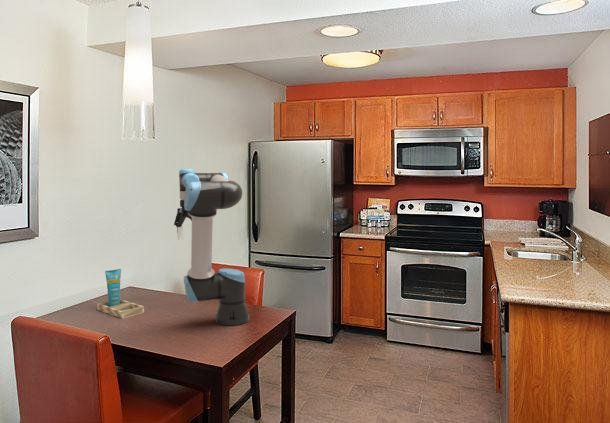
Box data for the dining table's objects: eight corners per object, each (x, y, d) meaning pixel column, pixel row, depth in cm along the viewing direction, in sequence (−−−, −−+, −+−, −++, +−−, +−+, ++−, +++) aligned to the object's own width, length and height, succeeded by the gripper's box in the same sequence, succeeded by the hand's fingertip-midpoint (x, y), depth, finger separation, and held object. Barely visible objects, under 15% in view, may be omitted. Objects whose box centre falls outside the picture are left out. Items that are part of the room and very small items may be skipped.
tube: (108, 310, 225) (107, 271, 223) (104, 308, 229) (103, 270, 227) (124, 307, 230) (122, 269, 228) (120, 305, 234) (118, 267, 232)
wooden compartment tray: (144, 312, 224) (144, 306, 224) (122, 318, 215) (121, 312, 215) (119, 304, 237) (118, 298, 237) (97, 309, 228) (97, 303, 228)
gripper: (209, 199, 233) (210, 241, 235) (178, 197, 248) (179, 237, 250) (197, 200, 227) (198, 243, 229) (166, 198, 243) (167, 239, 245)
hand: (188, 240), depth 240 cm, fingers open, 13 cm apart
